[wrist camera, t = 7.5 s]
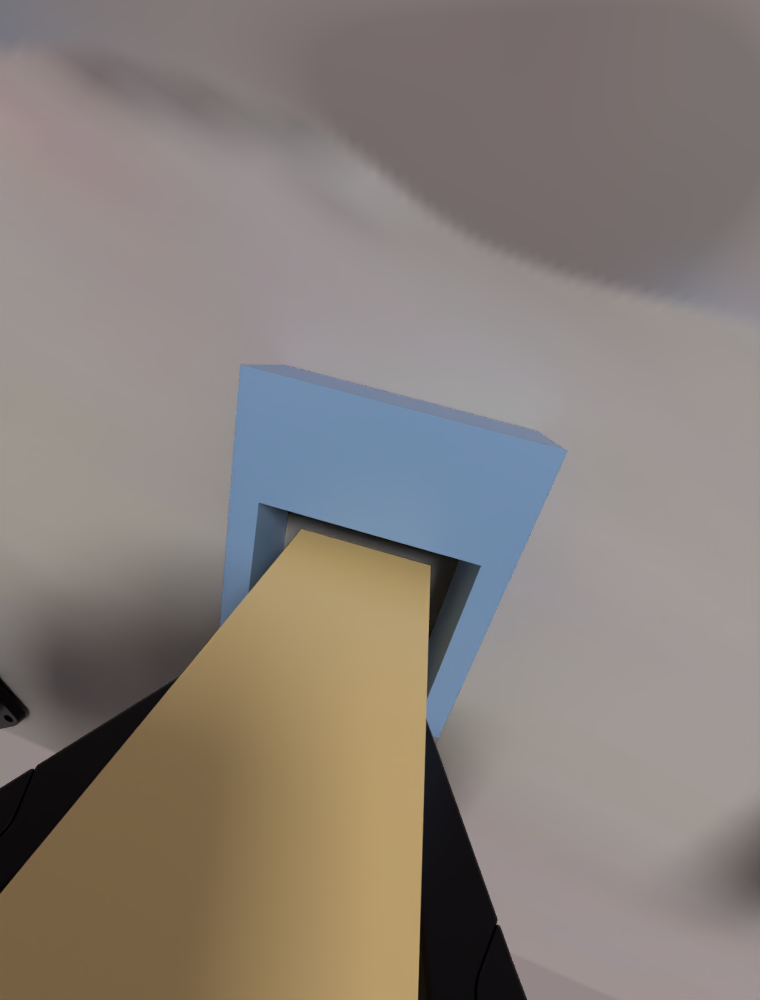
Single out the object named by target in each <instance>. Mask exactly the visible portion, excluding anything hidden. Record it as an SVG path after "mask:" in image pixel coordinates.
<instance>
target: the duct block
mask: <svg viewBox="0 0 760 1000" xmlns="http://www.w3.org/2000/svg"><path fill="white" fill-rule="evenodd" d="M566 453H567V450H565V449H564V448H562V447H561V446H559V445H558V444H556V443H555V442H553V441H552V440H550V439H549V438H547V437H546V436H544V435H543V434H541V433H540V432H538V431H535V430H531V429H527V428H523V427H519V426H516V425H512V424H508V423H504V422H500V421H496V420H493V419H489V418H485V417H481V416H477V415H473V414H470V413H466V412H462V411H458V410H454V409H451V408H447V407H443V406H439V405H435V404H431V403H428V402H424V401H420V400H416V399H412V398H408V397H405V396H401V395H397V394H393V393H389V392H385V391H382V390H378V389H374V388H370V387H366V386H363V385H359V384H355V383H351V382H347V381H343V380H340V379H336V378H332V377H328V376H324V375H320V374H317V373H313V372H309V371H305V370H301V369H297V368H294V367H290V366H286V365H240V377H239V389H238V402H237V415H236V427H235V440H234V453H233V465H232V478H231V491H230V503H229V516H228V529H227V541H226V554H225V567H224V579H223V592H222V605H221V617H220V627H221V626H222V625H223V623H224V622H225V621H226V620H227V619H228V617H229V616H230V615H231V614H232V613H233V611H234V610H235V609H236V608H237V607H238V605H239V604H240V603H241V602H242V600H243V599H244V598H245V597H246V596H247V594H248V593H249V592H250V591H251V590H252V588H253V587H254V586H255V585H256V584H257V582H258V581H259V580H260V579H261V577H262V576H263V575H264V574H265V573H266V571H267V570H268V569H269V568H270V567H271V565H272V564H273V563H274V562H275V561H276V559H277V558H278V557H279V556H280V554H281V553H282V552H283V545H284V538H285V532H286V525H287V518H288V512H289V511H290V512H294V513H297V514H301V515H304V516H308V517H311V518H315V519H318V520H322V521H325V522H329V523H332V524H336V525H339V526H343V527H346V528H350V529H354V530H357V531H361V532H364V533H368V534H371V535H375V536H378V537H382V538H385V539H389V540H392V541H396V542H399V543H403V544H406V545H410V546H413V547H417V548H420V549H424V550H427V551H431V552H435V553H438V554H442V555H445V556H449V557H452V558H456V559H459V562H458V564H457V567H456V570H455V572H454V575H453V578H452V580H451V583H450V586H449V588H448V591H447V594H446V596H445V599H444V602H443V604H442V607H441V610H440V612H439V615H438V618H437V620H436V623H435V626H434V628H433V631H432V634H431V636H430V639H429V642H428V671H427V705H426V719H427V722H428V725H429V727H430V730H431V733H432V736H433V739H434V741H435V744H436V742H437V740H438V738H439V736H440V734H441V731H442V729H443V727H444V725H445V722H446V720H447V718H448V716H449V714H450V711H451V709H452V707H453V705H454V702H455V700H456V698H457V696H458V694H459V691H460V689H461V687H462V685H463V682H464V680H465V678H466V676H467V673H468V671H469V669H470V667H471V665H472V662H473V660H474V658H475V656H476V653H477V651H478V649H479V647H480V645H481V642H482V640H483V638H484V636H485V633H486V631H487V629H488V627H489V625H490V622H491V620H492V618H493V616H494V613H495V611H496V609H497V607H498V605H499V602H500V600H501V598H502V596H503V593H504V591H505V589H506V587H507V584H508V582H509V580H510V578H511V576H512V573H513V571H514V569H515V567H516V564H517V562H518V560H519V558H520V556H521V553H522V551H523V549H524V547H525V544H526V542H527V540H528V538H529V536H530V533H531V531H532V529H533V527H534V524H535V522H536V520H537V518H538V516H539V513H540V511H541V509H542V507H543V504H544V502H545V500H546V498H547V495H548V493H549V491H550V489H551V487H552V484H553V482H554V480H555V478H556V475H557V473H558V471H559V469H560V467H561V464H562V462H563V460H564V458H565V455H566Z"/></svg>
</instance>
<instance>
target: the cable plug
mask: <svg viewBox="0 0 760 1000" xmlns="http://www.w3.org/2000/svg"><path fill="white" fill-rule="evenodd" d="M430 569H431V566H430V565H426V564H423V563H419V562H416V561H412V560H409V559H405V558H402V557H398V556H395V555H391V554H388V553H384V552H380V551H377V550H373V549H370V548H366V547H363V546H359V545H356V544H352V543H349V542H345V541H342V540H338V539H335V538H331V537H328V536H324V535H321V534H317V533H314V532H310V531H307V530H303V529H301V530H300V531H299V533H298V534H297V535H296V536H295V537H294V539H293V540H292V541H291V542H290V544H289V545H288V546H287V547H286V548H285V550H284V551H283V552H282V553H281V554H280V556H279V557H278V558H277V559H276V561H275V562H274V563H273V564H272V565H271V567H270V568H269V569H268V570H267V571H266V573H265V574H264V575H263V576H262V577H261V579H260V580H259V581H258V582H257V584H256V585H255V586H254V587H253V588H252V590H251V591H250V592H249V593H248V594H247V596H246V597H245V598H244V599H243V600H242V602H241V603H240V604H239V605H238V607H237V608H236V609H235V610H234V611H233V613H232V614H231V615H230V616H229V617H228V619H227V620H226V621H225V622H224V623H223V625H222V626H221V627H220V628H219V630H218V631H217V632H216V633H215V634H214V636H213V637H212V638H211V639H210V640H209V642H208V643H207V644H206V645H205V646H204V648H203V649H202V650H201V651H200V653H199V654H198V655H197V656H196V657H195V659H194V660H193V661H192V662H191V663H190V665H189V666H188V667H187V668H186V669H185V671H184V672H183V673H182V674H181V676H180V677H179V678H178V679H177V680H176V682H175V683H174V684H173V685H172V686H171V688H170V689H169V690H168V691H167V692H166V694H165V695H164V696H163V697H162V699H161V700H160V701H159V702H158V703H157V705H156V706H155V707H154V708H153V709H152V711H151V712H150V713H149V714H148V715H147V717H146V718H145V719H144V720H143V722H142V723H141V724H140V725H139V726H138V728H137V729H136V730H135V731H134V732H133V734H132V735H131V736H130V737H129V738H128V740H127V741H126V742H125V743H124V745H123V746H122V747H121V748H120V749H119V751H118V752H117V753H116V754H115V755H114V757H113V758H112V759H111V760H110V761H109V763H108V764H107V765H106V766H105V768H104V769H103V770H102V771H101V772H100V774H99V775H98V776H97V777H96V778H95V780H94V781H93V782H92V783H91V784H90V786H89V787H88V788H87V789H86V791H85V792H84V793H83V794H82V795H81V797H80V798H79V799H78V800H77V801H76V803H75V804H74V805H73V806H72V807H71V809H70V810H69V811H68V812H67V814H66V815H65V816H64V817H63V818H62V820H61V821H60V822H59V823H58V824H57V826H56V827H55V828H54V829H53V830H52V832H51V833H50V834H49V835H48V837H47V838H46V839H45V840H44V841H43V843H42V844H41V845H40V846H39V847H38V849H37V850H36V851H35V852H34V854H33V855H32V856H31V857H30V858H29V860H28V861H27V862H26V863H25V864H24V866H23V867H22V868H21V869H20V870H19V872H18V873H17V874H16V875H15V877H14V878H13V879H12V880H11V881H10V883H9V884H8V885H7V886H6V887H5V889H4V890H3V891H2V892H1V893H0V1000H418V979H419V944H420V910H421V876H422V842H423V808H424V774H425V739H426V705H427V671H428V637H429V603H430Z"/></svg>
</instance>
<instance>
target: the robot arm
mask: <svg viewBox="0 0 760 1000" xmlns="http://www.w3.org/2000/svg"><path fill="white" fill-rule="evenodd" d="M179 677H180V676H179ZM179 677H178V678H179ZM178 678H176V679H174V680H173V681H171V682H170V683H168V684H166V685H165V686H163V687H162V688H160V689H158V690H157V691H155V692H154V693H152V694H150V695H149V696H147V697H146V698H144V699H142V700H141V701H139V702H138V703H136V704H134V705H133V706H131V707H130V708H128V709H126V710H125V711H123V712H122V713H120V714H118V715H117V716H115V717H114V718H112V719H110V720H109V721H107V722H106V723H104V724H102V725H101V726H99V727H98V728H96V729H94V730H93V731H91V732H90V733H88V734H86V735H85V736H83V737H82V738H80V739H78V740H77V741H75V742H74V743H72V744H70V745H69V746H67V747H66V748H64V749H62V750H61V751H59V752H58V753H56V754H54V755H53V756H51V757H50V758H48V759H46V760H45V761H43V762H42V763H40V764H38V765H37V766H36V768H35V770H34V769H30V770H28V771H27V772H25V773H24V774H22V775H20V776H19V777H17V778H16V779H14V780H12V781H11V782H9V783H8V784H6V785H5V786H3V787H1V788H0V893H1V892H2V891H3V890H4V889H5V887H6V886H7V885H8V884H9V883H10V881H11V880H12V879H13V878H14V877H15V875H16V874H17V873H18V872H19V870H20V869H21V868H22V867H23V866H24V864H25V863H26V862H27V861H28V860H29V858H30V857H31V856H32V855H33V854H34V852H35V851H36V850H37V849H38V847H39V846H40V845H41V844H42V843H43V841H44V840H45V839H46V838H47V837H48V835H49V834H50V833H51V832H52V830H53V829H54V828H55V827H56V826H57V824H58V823H59V822H60V821H61V820H62V818H63V817H64V816H65V815H66V814H67V812H68V811H69V810H70V809H71V807H72V806H73V805H74V804H75V803H76V801H77V800H78V799H79V798H80V797H81V795H82V794H83V793H84V792H85V791H86V789H87V788H88V787H89V786H90V784H91V783H92V782H93V781H94V780H95V778H96V777H97V776H98V775H99V774H100V772H101V771H102V770H103V769H104V768H105V766H106V765H107V764H108V763H109V761H110V760H111V759H112V758H113V757H114V755H115V754H116V753H117V752H118V751H119V749H120V748H121V747H122V746H123V745H124V743H125V742H126V741H127V740H128V738H129V737H130V736H131V735H132V734H133V732H134V731H135V730H136V729H137V728H138V726H139V725H140V724H141V723H142V722H143V720H144V719H145V718H146V717H147V715H148V714H149V713H150V712H151V711H152V709H153V708H154V707H155V706H156V705H157V703H158V702H159V701H160V700H161V699H162V697H163V696H164V695H165V694H166V692H167V691H168V690H169V689H170V688H171V686H172V685H173V684H174V683H175V682H176V680H177V679H178ZM25 717H26V714H25V712H24V710H23V709H22V708H21V707H20V706H19V705H18V704H17V703H16V701H15V700H14V699H13V698H12V697H11V696H10V695H9V694H8V693H7V691H6V690H5V689H4V688H3V687H2V686H1V685H0V729H2V728H7V727H11V726H15V725H17V724H18V723H19V722H21V721H22V720H23V719H24V718H25ZM496 924H497V916H496V913H495V910H494V908H493V905H492V902H491V899H490V896H489V894H488V891H487V888H486V885H485V882H484V879H483V877H482V874H481V871H480V868H479V865H478V863H477V860H476V857H475V854H474V851H473V848H472V846H471V843H470V840H469V837H468V834H467V832H466V829H465V826H464V823H463V820H462V818H461V815H460V812H459V809H458V806H457V803H456V801H455V798H454V795H453V792H452V789H451V787H450V784H449V781H448V778H447V775H446V772H445V770H444V767H443V764H442V761H441V758H440V756H439V753H438V750H437V747H436V744H435V741H434V739H433V736H432V733H431V730H430V727H429V725H428V722H427V719H426V739H425V774H424V808H423V842H422V876H421V910H420V944H419V979H418V1000H527V998H526V996H525V993H524V990H523V987H522V985H521V983H520V979H519V977H518V974H517V972H516V969H515V966H514V964H513V961H512V958H511V955H510V952H509V949H508V947H507V944H506V941H505V938H504V935H503V932H502V930H501V927H500V926H499V925H496Z"/></svg>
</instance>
